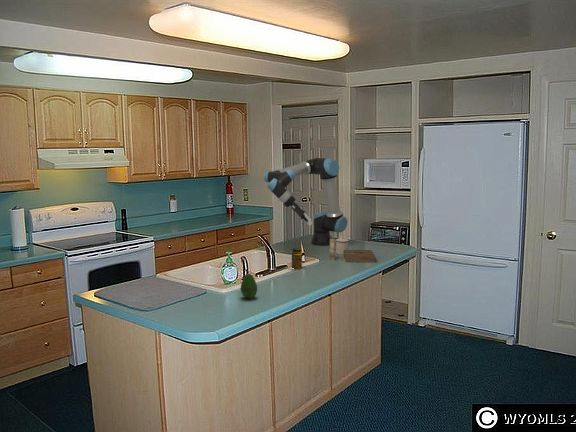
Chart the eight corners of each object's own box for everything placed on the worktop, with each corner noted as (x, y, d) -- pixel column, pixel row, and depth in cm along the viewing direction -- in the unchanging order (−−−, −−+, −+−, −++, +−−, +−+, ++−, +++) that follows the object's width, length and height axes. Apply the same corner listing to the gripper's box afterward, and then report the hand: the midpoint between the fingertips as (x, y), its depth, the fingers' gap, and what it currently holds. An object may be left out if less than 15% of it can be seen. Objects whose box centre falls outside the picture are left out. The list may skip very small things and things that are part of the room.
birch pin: (329, 258, 333) (329, 238, 331) (334, 258, 333) (335, 238, 331) (329, 259, 330) (330, 239, 328) (335, 259, 330) (335, 239, 328)
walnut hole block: (343, 256, 339) (343, 249, 339) (370, 256, 339) (371, 249, 339) (346, 262, 324) (346, 255, 323) (374, 262, 323) (374, 255, 323)
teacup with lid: (351, 253, 350) (351, 236, 348) (343, 255, 343) (344, 238, 341) (336, 250, 358) (337, 233, 356) (329, 252, 351) (329, 235, 349)
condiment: (304, 269, 306) (304, 249, 304) (292, 271, 302) (293, 250, 300) (297, 266, 312) (297, 247, 310) (286, 268, 308) (286, 248, 306)
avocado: (248, 294, 255) (248, 271, 253) (260, 297, 250) (260, 273, 248) (237, 298, 249) (237, 274, 247) (249, 301, 244) (248, 277, 242)
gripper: (283, 201, 338) (305, 223, 340) (282, 205, 314) (306, 230, 316) (291, 193, 338) (314, 216, 340) (291, 197, 313) (315, 221, 315)
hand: (310, 223), depth 328 cm, fingers open, 13 cm apart
